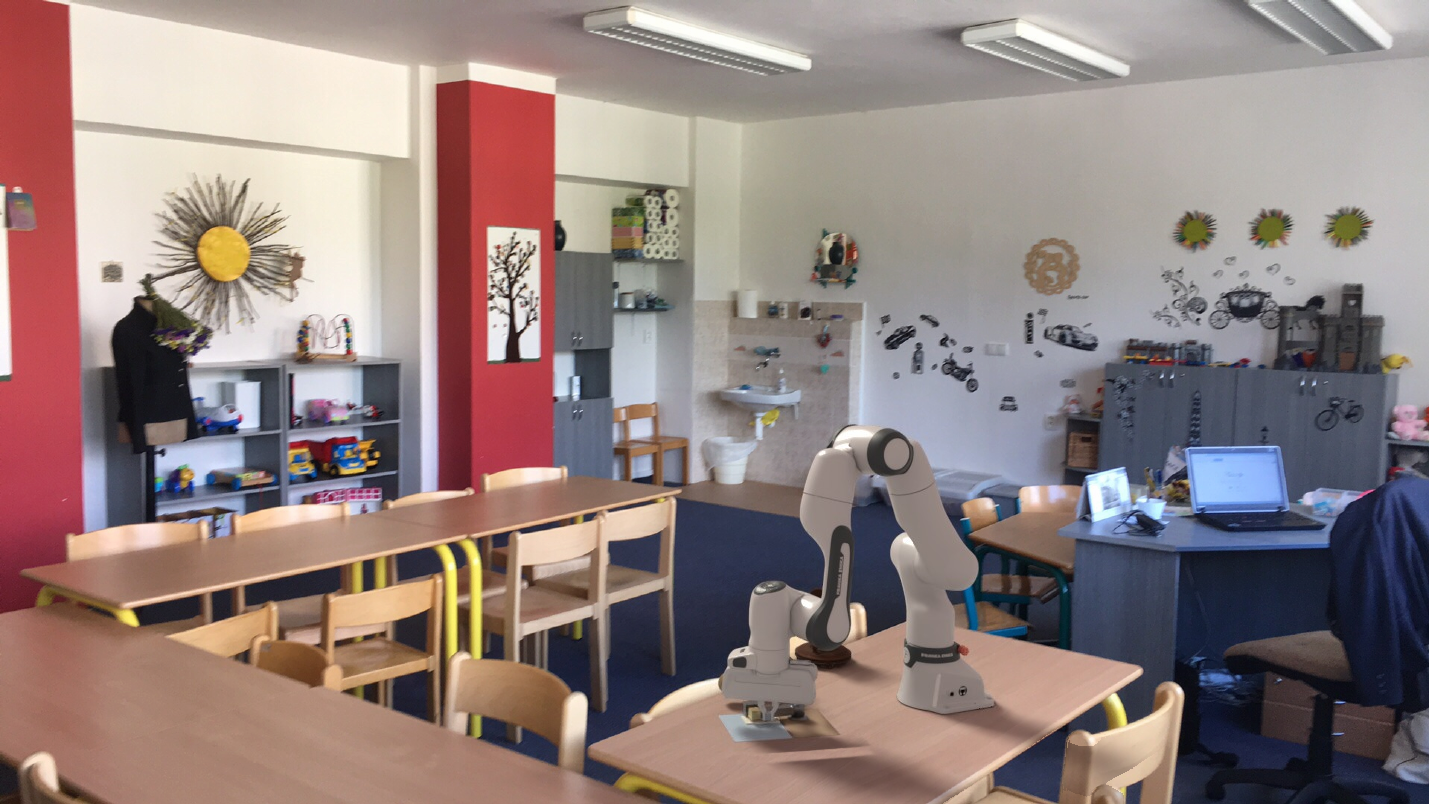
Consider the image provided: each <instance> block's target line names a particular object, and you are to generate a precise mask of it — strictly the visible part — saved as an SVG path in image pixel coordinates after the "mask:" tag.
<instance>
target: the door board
mask: <svg viewBox="0 0 1429 804" xmlns="http://www.w3.org/2000/svg"><path fill="white" fill-rule="evenodd" d="M718 718H719V719H720V721H721V722H722V724H723V725H724V727H725V728H726V730H727V731H728V734H729V735H730V736H731V738H732V739H733V741H734V743H743V742H758V741H772V740H786V739H793V736H791V733H789V732H788V730H787V728H786V727H784V726H785V725H783V724H782V723H781V720H780V718H779V717H774V721H763V718H762V719H755V720H751V719H750V718H749V717H745V716H744V715H743V713H737V714H722V715H721V714H720V715H718Z"/></svg>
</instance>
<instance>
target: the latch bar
mask: <svg viewBox="0 0 1429 804" xmlns="http://www.w3.org/2000/svg"><path fill="white" fill-rule="evenodd" d="M764 706H765V708H766V710H767V711H772V709H773V706H772V705H764ZM805 710H806V705H805V704H792V703H784V704H779V707H778V708H777V710H776V712H775V713H774V717H777V718H779V717H781V716H790V715H791V716H793V717H804V716H805ZM748 717H749V718H750V719H751V720H755V719H762V718H763V713H762V712H761V710H760V709H759V707H752V708H749V711H748Z"/></svg>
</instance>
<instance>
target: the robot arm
mask: <svg viewBox="0 0 1429 804" xmlns="http://www.w3.org/2000/svg"><path fill="white" fill-rule="evenodd" d="M926 454H927V453H926V452H925V450H924V449H923V447H922V445H921V444H920V442H918V441H917V440H915V439H914V438H907V436H906V435H905V434H903V433H901V432H900V431H898V430H896V429H895V428H890V427H883V426H880V425H874V424H864V425H863V424H851V423H850V424H846V425H842V426H840V427H839V428H837V429H836V430H835V431H834V432H833V433H832V435H831V437H830V439H829V441H828V444H827V445H826V446H825V449H822V450H819V451H818V452H817V453H816V455H815V457H814V459H813V461H812V463H811V467H810V468H809V471H808V474H807V476H806V480H805V483H804V488H803V493H802V497H801V500H800V506H799V520H800V522H801V526H802V527H803V529H804V530H805V532H806V533H807V534H808V535H809V536H810V537H811V538H812V539H813V540H814V541H815V542H816V543H817V545H818V546H819V548H820V550H821V551H822V553H823V557H824V570H823V571H824V572H823V582H822V583H823V585H822V587H823V591H822V597H821V598H818V597H816V596H814V595H811V594H810V592H806V591H803V590H798V589H795V588H793V587H791V586H789V585H788V584H787V583H786V582H784V581H781V580H767V581H763V582H761V583H759V584H757V585H756V586H755V587H754V588H753V590H752V592H751V594H750V595H751V596H750V601H749V609H748V610H749V611H748V625H749V631H750V636H749V640H748V645H747V646H743V647H739V648H735V649H733V650H732V651H731V652H730V653H729V654H728V657H727V667H726V669H725V670H724V676H723V681H722V691H721V695H722V697H723V698H724V699H730V700H743V701H758V707H759V709H760V710H761V712H762V713H763V721H774V713H775V712H776V710H777V708H778V707H779V705H781V703H782V704H791V703H792V704H805V706H807V705H808V706H811V705H813V704H814V703H815V700H816V697H817V691H816V690H817V688H816V680H817V679H818V667H817V665H816V664H815V663H811V661H809V660H797V659H796V658H792V659H790V657H791V641H790V640H791V639H792V638H795V637H796V638H798V639H801V640H802V641H804V642H806V643H807V642H809V643H811V644H812V645H814V646H815V647H817V648H819V649H820V650H823V651H831V650H834V649H836V648H838V647H839V646H840V645H843V644H844V643H845V642H847V640H848V637H849V635H850V632H851V629H852V615H851V614H852V613H851V593H852V584H853V583H852V581H853V571H854V561H855V537H854V533H853V532H852V525H851V524H852V523H851V518H852V517H851V515H852V508H853V507H852V506H853V503H854V502H853V501H854V498H855V490H856V485H857V483H858V481H859V480H860V478H861V477H862V476H863V475H872V476H880V477H883V478H884V480H885V485H886V489H887V492H888V497H889V499H890V502H891V506H892V509H893V513H894V517H895V520H896V522H897V524H898V525H899V526H900V528H901V529H902V530H903V531H904V532H902V533H900V534H899V535H897V536H896V537H895V538H894V540H893V541H892V543H891V545H890V546H891V547H890V552H889V553H890V555H889V556H890V560H891V562H892V564H893V565H894V567H895V569H896V571H897V573H898V576H899V578H900V580H901V581H900V582H901V585H902V590H903V594H904V598H905V606H906V629H905V630H906V632H905V633H906V634H905V636H906V637H905V638H904V640H903V642H904V643H903V650H902V652H903V653H902V654H903V657H902V658H903V660H902V661H903V669H902V670H903V671H902V676H901V681H900V684H899V689H898V692H897V694H896V699H897V700H898V701H899V702H900V703H902V704H903V705H905V706H908V707H910V708H914V709H919V710H925V711H931V712H934V713H936V714H937V713H938V714H941V715H948V714H953V713H954V714H955V713H959V712H965V711H972V710H977V709H979V708H980V709H983V708H984V709H986V708H991V706H992V707H994V706H995V699H994V698H993V696H992V695H991V694H990V692H988V691H986V690H985V689H986V688H985V683H984V679H983V677H982V676H981V674H980V672H979V671H977V670H976V669H975V667H973V666H972V665H971V664H969V663H968V662H967V661H966V660H964V659H963V658H962V657H961V655H962V656H964V657H966V656H968V654H969V652H970V649H969V648H968V647H966V646H965V645H963V644H962V645H961V644H959V643H958V642H957V641H955V623H956V622H955V621H956V611H955V608H954V606H953V603H952V602H951V601H950V599H949V597H948V594H947V592H946V590H947V591H958V592H959V591H964V590H966V589H969V588H970V587H971V586H972V585H973V584H974V583H975V581H976V579H977V577H978V574H979V561H978V559H977V557H976V555H975V554H974V553H973V552H972V551H971V550H970V549H969V548H968V547H967V546H966V544H965V543H964V542H963V540H962V539H961V538H960V535H959V534H958V532H957V530H956V528H955V527H954V525H953V524H952V522H951V520H950V519H949V516H948V515H947V512H946V510H945V508H944V504H943V502H942V498H941V495H940V491H939V489H938V488H939V487H938V485H937V482H936V477H935V476H934V471H933V469H932V466H931V464H930V461H929V459H928V456H927V455H926ZM766 702H769V703H771V706H773V709H772V711H767V710H766V708H765V706H766V705H765V704H766ZM980 709H979V710H980Z"/></svg>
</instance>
